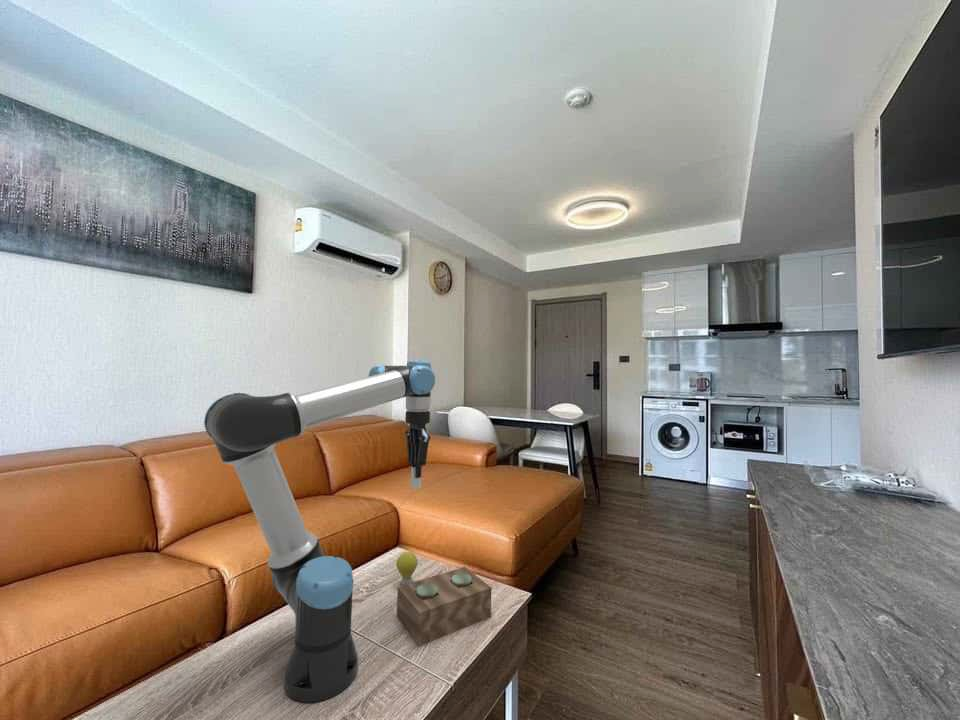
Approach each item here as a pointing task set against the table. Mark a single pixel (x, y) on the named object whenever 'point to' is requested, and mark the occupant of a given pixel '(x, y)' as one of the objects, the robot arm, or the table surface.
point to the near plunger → (426, 591)
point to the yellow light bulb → (406, 566)
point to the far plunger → (461, 579)
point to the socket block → (443, 606)
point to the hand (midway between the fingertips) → (415, 487)
